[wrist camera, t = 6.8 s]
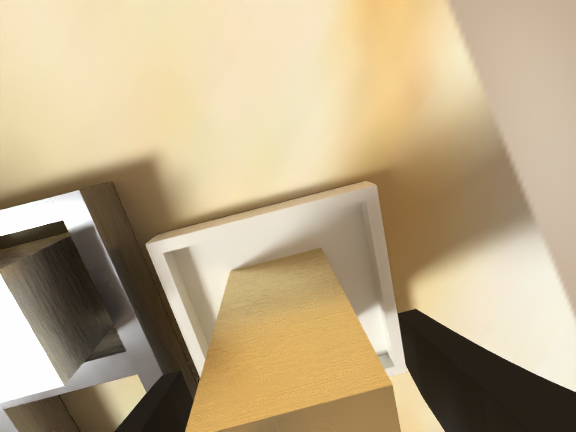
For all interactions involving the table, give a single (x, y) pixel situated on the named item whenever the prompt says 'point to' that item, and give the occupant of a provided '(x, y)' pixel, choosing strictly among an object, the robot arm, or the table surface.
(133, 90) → the table surface
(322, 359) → the wooden block
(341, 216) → the parts tray
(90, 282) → the rail
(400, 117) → the table surface
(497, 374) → the robot arm
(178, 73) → the table surface
